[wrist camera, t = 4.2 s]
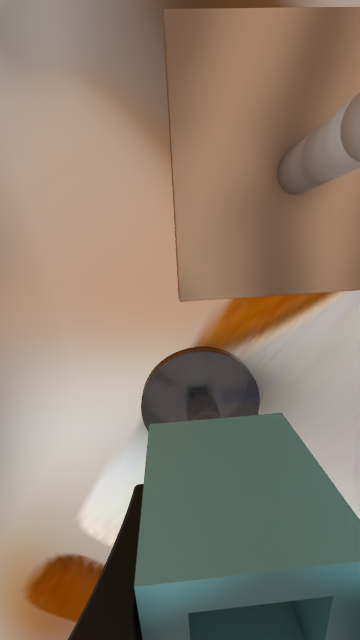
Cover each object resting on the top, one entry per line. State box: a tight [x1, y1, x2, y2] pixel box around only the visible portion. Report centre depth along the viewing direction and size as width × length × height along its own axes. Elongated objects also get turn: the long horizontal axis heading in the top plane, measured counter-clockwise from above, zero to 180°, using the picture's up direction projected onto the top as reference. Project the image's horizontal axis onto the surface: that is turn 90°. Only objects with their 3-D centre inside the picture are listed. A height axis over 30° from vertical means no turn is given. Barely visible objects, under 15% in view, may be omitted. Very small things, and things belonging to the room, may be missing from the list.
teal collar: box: [134, 413, 360, 640], centre depth 8 cm, size 6×6×5 cm
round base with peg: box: [141, 347, 260, 431], centre depth 13 cm, size 8×8×6 cm
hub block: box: [164, 7, 360, 302], centre depth 10 cm, size 12×12×6 cm
